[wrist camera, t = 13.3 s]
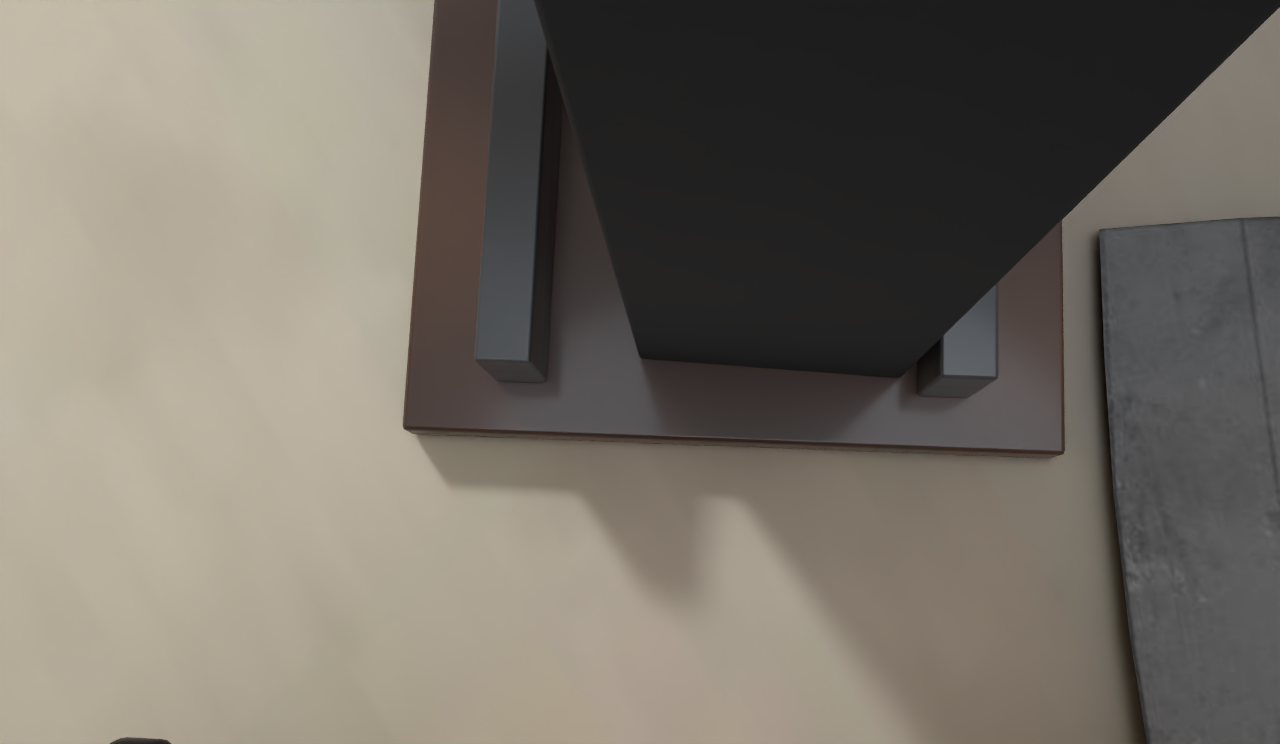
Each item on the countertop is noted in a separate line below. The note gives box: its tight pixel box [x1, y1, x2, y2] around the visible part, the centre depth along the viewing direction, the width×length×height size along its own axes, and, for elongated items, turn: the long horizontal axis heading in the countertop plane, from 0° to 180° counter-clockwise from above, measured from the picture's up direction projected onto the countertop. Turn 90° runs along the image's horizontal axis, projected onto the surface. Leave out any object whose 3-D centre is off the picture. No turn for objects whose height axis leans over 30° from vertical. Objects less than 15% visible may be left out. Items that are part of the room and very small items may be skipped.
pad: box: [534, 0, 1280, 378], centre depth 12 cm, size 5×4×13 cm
